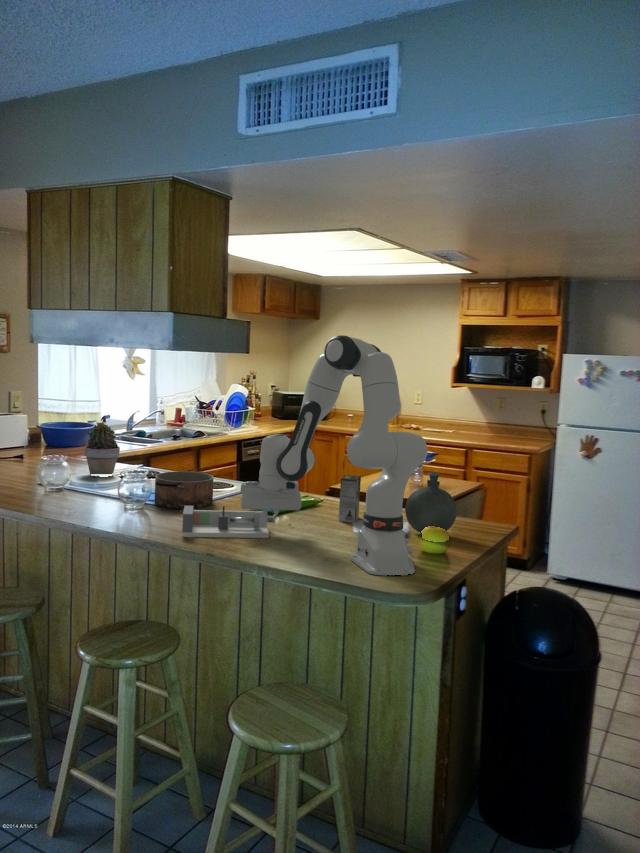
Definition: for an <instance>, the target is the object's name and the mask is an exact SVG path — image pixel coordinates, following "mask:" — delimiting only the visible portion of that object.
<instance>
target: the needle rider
mask: <svg viewBox="0 0 640 853" xmlns="http://www.w3.org/2000/svg"><path fill="white" fill-rule="evenodd" d="M225 509H226V508H225V505H222V511H223V513H219V520H218V529H228V513H224V511H226V510H225Z"/></svg>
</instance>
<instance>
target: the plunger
mask: <svg viewBox="0 0 640 853" xmlns="http://www.w3.org/2000/svg"><path fill="white" fill-rule="evenodd" d="M253 511H254V518H244V517H230V522H253V526H254V530H259V512H258V511H259V510H253Z"/></svg>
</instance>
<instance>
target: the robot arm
mask: <svg viewBox="0 0 640 853" xmlns="http://www.w3.org/2000/svg"><path fill="white" fill-rule="evenodd" d="M350 375H352V377H354V378H355V377H358V378H359V377H360V381H361V392H362V402H363V417H362V421H361V424H360V426H359V429H357V431H356V432H355V433H354V434H353V435H352V436H351V438H349V440H348V443H347V446H346V455H347V458H348V460H349V462H350V464H351V465H353V466H354V467H356V468H359V469H361V468H362V469H364V470H365V469H366V470H381V469H382V471H381V474H380V475H379V476H378V477H377V478H376V479H375V480H373V481H371V483H369V485H368V486H367V488H366V495H365V507H364V508H365V511H364V512H363V516H362V524H363V525H362V527H361V528H360V530H357V534H356V543H355V553H353V554H351V555H350V556H349V560H351V561H352V562H353V563H355V564H356V565H357V566H358V567H360V568H361V569H362V570H364V572H366V573H367V574H370V575H377V576H387V575H390V576H391V575H393V576H394V575H401V576H409V575H408V574H411V575H414V574H413V573H416V572H415V567H414V564H413V560H412V557H411V555H412V554H413V546H411V545H408V544H409V543H410V542H409V539H408V538H406V532H405V531H404V530H403V529H404V515H403V506H404V504H403V503H404V496H405V491H406V487H407V485H408V483H409V479H410V478H411V476H412V475H413V474H414V472H415V470H417V468H418V467H420V466H421V465H422V464H424V462H425V460H426V458H427V455H428V445H427V442H426V440H425V439H424V437H423V436H421V434H417V433H412V432H407V431H389V423H390V421H392V420H393V419H395V418H396V417H397V416H398V415H399V413H401V409H402V405H401V404H402V403H401V396H400V387H399V381H398V375H397V372H396V366H395V365H394V362H393V359H392V357H391V355H390V354H388V353H386V352H383V351H381V349H380V348H379V347H378V346H376V345H374V344H372V343H369V342H366V341H364V340H363V339H360V338H356V337H350V336H349V335H335V336H332V337H331V338H329V340H328V341H327V342H326V344H325V347H324V352H323V353H322V354H320V355H319V356H318V358H317V359H316V361H315V363H314V365H313V367H312V369H311V372H310V375H309V377H308V380H307V382H306V386H305V390H304V393H303V398H302V402H301V406H300V411H299V415H298V417H297V421H296V424H295V426H294V430H293V432H292V434H291V437H290V438H289V437H288V436H287V435H286V434H284V433H274V434H269V435H267V436H265V437H264V438H263V439H262V442H261V446H260V455H259V462H260V469H259V473H258V474H259V476H258V481H248V480H247V481H245V482H242V483H241V485H240V493H241V499H240V507H241V508H242V510H260V511H263V513H264V515H265V517H266V523H267V524H268V523H271V524H272V523H273V524H275V522H276V521H275V520H276V518H277V517H278V514H279V512H280V511H299V510H300V509H301V508H302V496H301V492H300V490H299V486H300V485H299V482H298V480H301V479H303V478H304V476H305V475H306V474H307V473H309V471H311V470H312V468H314V465H315V463H316V456H315V453H314V452H313V450H312V449H311V448H309V447H310V445H311V443H312V442H311V441H312V440H313V438H314V437H313V436H314V434H315V431H316V429H317V427H318V425H319V424H320V423H321V421H322V420H324V418H325V417H326V416H327V415H328V414H329V413H330V412H331V411H332V410H333V408H334V406H335V405H336V403H337V401H338V398H339V395H340V392H341V389H342V387H343V383H344V381H345V379H346V378H347V377H348V376H350ZM269 510H270V511H273V512H274V513H273V515H271V516H269V515H268V511H269ZM266 513H267V514H266ZM390 576H389V577H390ZM391 577H392V576H391Z"/></svg>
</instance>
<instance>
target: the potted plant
mask: <svg viewBox="0 0 640 853" xmlns="http://www.w3.org/2000/svg"><path fill="white" fill-rule="evenodd" d="M108 424H109V423H108ZM108 424H106V423H103V422H100V423H98V425H96V424H95V425H94V426H93V427H91V428H90V431H89V432H87V435H88V436H87V439H88V438H89V439H88V440H87V442H88V443H87V445H85V446H84V447H83V449H84V456H85V458H86V461H87V466H88V471H89V475H90V474H112V473H113V474H114V472H115V468H116V464H117V461H118V457H119V456H120V451H121V448H120V447H121V446H118V443H117V440H115V439H116V438H117V439H120V438H121V437H119V436H117V435H116V434H115V432H116V431H115V430H113V429H112V428H111V426H108ZM83 439H86V436H85V437H83Z"/></svg>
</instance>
